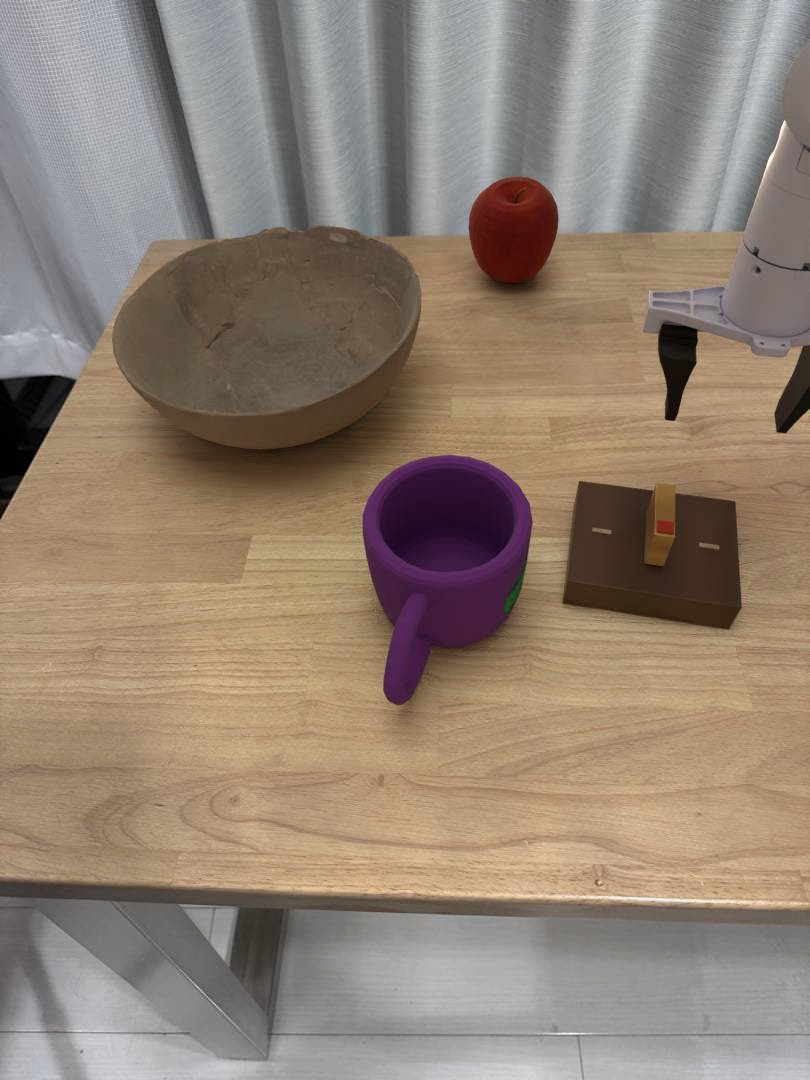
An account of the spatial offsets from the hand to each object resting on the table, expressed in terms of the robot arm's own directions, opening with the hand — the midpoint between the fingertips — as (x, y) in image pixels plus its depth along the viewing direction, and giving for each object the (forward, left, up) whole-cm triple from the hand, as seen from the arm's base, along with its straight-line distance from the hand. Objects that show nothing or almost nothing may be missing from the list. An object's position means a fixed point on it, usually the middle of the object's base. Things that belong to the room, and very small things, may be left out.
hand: (724, 417), depth 53 cm
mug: (+18, +16, -10) cm, 26 cm away
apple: (+19, -31, -10) cm, 38 cm away
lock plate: (+3, +7, -9) cm, 12 cm away
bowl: (+38, -8, -10) cm, 40 cm away
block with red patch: (+3, +7, -6) cm, 10 cm away
